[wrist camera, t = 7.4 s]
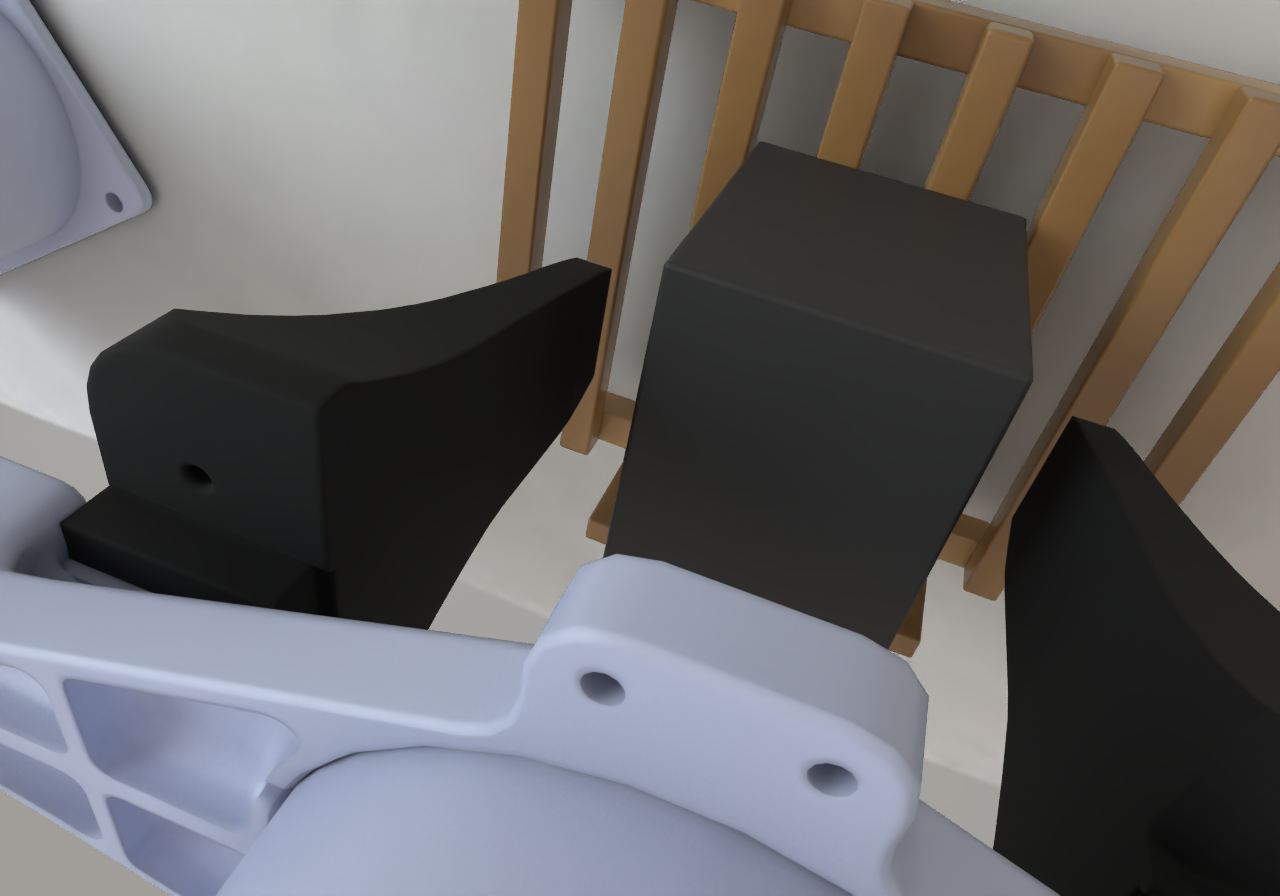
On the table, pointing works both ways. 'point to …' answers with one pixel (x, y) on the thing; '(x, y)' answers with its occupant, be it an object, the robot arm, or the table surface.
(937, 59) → the dish rack
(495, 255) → the table surface
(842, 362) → the black box
